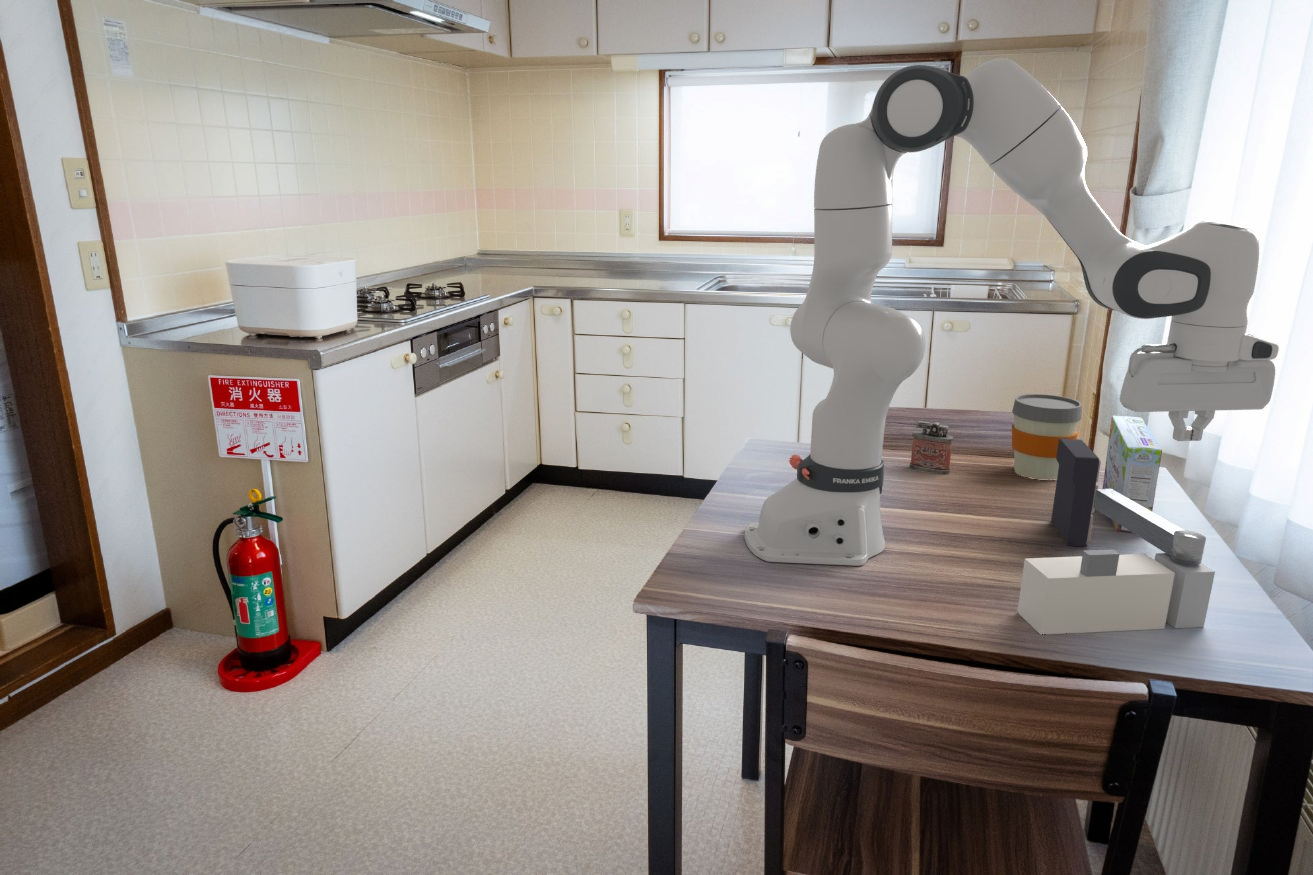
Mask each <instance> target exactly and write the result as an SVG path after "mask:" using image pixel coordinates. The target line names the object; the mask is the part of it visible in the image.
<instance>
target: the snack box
mask: <svg viewBox="0 0 1313 875" xmlns="http://www.w3.org/2000/svg"><path fill="white" fill-rule="evenodd" d="M1109 427H1110V428H1109V434H1108V435H1109V436H1108V443H1107V450H1106V459H1105V468H1104V475H1103V483H1102V489H1113V490H1115V491H1116V492H1118V493H1120V494H1122V495H1123V496H1125V497H1127V498H1129V499H1130V500H1132V501H1134V502H1136V503H1137V504H1139V505H1141V506H1143V507H1145V508H1146V509H1148V510H1150V511H1152V512H1153V511H1154V504H1155V496H1156V491H1157V483H1158V477H1159V473H1160V472H1159V471H1160V465H1161V460H1162V455H1163V454H1162V453H1163V450H1162V448H1161V447H1160V445H1159V443H1158V442H1157V440H1156V438H1155V437H1154V434H1152V432H1151V431H1150V429H1149V427H1148V426H1147V425H1146V423H1145V420H1144V419H1143V418H1142V417H1141V416H1140V417H1138V416H1126V415H1123V416H1122V415H1111V420H1110V425H1109ZM1111 521H1112V523H1113V526H1114V529H1115V531H1116V532H1126V533H1132V532H1131V531H1129V530H1128V529H1126V528H1125V527H1123V526H1122V525H1120V524H1118V523H1117V522H1115V521H1114V520H1112V519H1111Z"/></svg>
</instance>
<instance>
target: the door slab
mask: <svg viewBox="0 0 1313 875" xmlns="http://www.w3.org/2000/svg"><path fill="white" fill-rule="evenodd" d="M1174 576H1175V573H1174V572H1172V571H1171V570H1169V569H1168V568H1166V567H1165V566H1163V565H1162V564H1160V563H1159V562H1157V561H1155V558H1152V557H1150V556H1149V555H1148V554H1146V553H1137V554H1136V553H1132V554H1120V552H1118V551H1116V550H1115V549H1092V550H1091V549H1089V550H1087V549H1086V550H1083V551H1082V555H1081V556H1080V555H1079V556H1060V557H1059V556H1058V557H1057V556H1056V557H1055V556H1054V557H1032V558H1030V557H1029V558H1024V561H1023V570H1022V577H1021V584H1020V590H1019V598H1018V599H1019V600H1018V606H1017V614H1018V615H1019V616H1021V618H1022V619H1024V620H1025V621H1026V622H1027V623H1028V624H1029V626H1031V628H1033V629H1034V630H1035V631H1036V632H1037V633H1038V634H1039V635H1040V636H1041V635H1042V634H1043V635H1044V634H1046V635H1061V634H1062V635H1064V634H1066V633H1067V634H1082V633H1083V634H1085V633H1086V634H1087V633H1102V632H1103V633H1105V632H1106V633H1108V632H1122V631H1123V632H1126V631H1127V632H1128V631H1147V630H1149V631H1150V630H1152V631H1153V630H1164V629H1165V628H1166V627H1165V626H1166V623H1167V622H1166V618H1167V612H1168V607H1169V602H1170V597H1171V591H1172V586H1173V581H1174Z"/></svg>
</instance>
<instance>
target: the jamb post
mask: <svg viewBox="0 0 1313 875" xmlns="http://www.w3.org/2000/svg"><path fill="white" fill-rule="evenodd" d="M1154 560H1155V561H1157V562H1159V563H1160V564H1162V565H1163V566H1165V567H1166V568H1168V569H1169V570H1171V571H1172V572H1174V573H1175V576H1174V581H1173V586H1172V591H1171V597H1170V602H1169V607H1168V612H1167V618H1166V623H1167V624H1168V625H1170V626H1171V627H1172V628H1174V629H1187V628H1188V629H1193V628H1204V627H1205V623H1206V622H1205V621H1206V618H1207V614H1208V612H1207V611H1208V608H1209V604H1210V597H1211V595H1212V594H1211V593H1212V588H1213V583H1214V578H1215V575H1216V571H1215V570H1213V569H1211V567H1208V566H1207V565H1205V564H1203V563H1202V562H1201V564H1199V565H1185V564H1181V563H1178V562H1175V561H1173V560H1172V559H1171V558H1170V556H1169V555H1168V554H1166V553H1165V552H1160V553H1157V552H1156V553H1155V556H1154Z"/></svg>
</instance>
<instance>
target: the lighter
mask: <svg viewBox="0 0 1313 875" xmlns="http://www.w3.org/2000/svg"><path fill="white" fill-rule="evenodd" d="M916 429H922V431H921V430H916V431H913V432H912V435H911V436H912V444H911V445H912V446H911V456H910V457H911V458H910V462H909V469H911V470H915V471H919V472H923V473H929V474H935V475H943V476H944V475H945V476H946V475H950V473H951V468H950V466H951V457H952V448H953V443H954V438H955V437H954V436H952V435H948V432H949V426H948V425H943V424H941V423H940V422H938V421H935V422H933V423H930V422H929V421H921V420H919V421H917V422H916ZM928 430H929V431H928Z"/></svg>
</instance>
